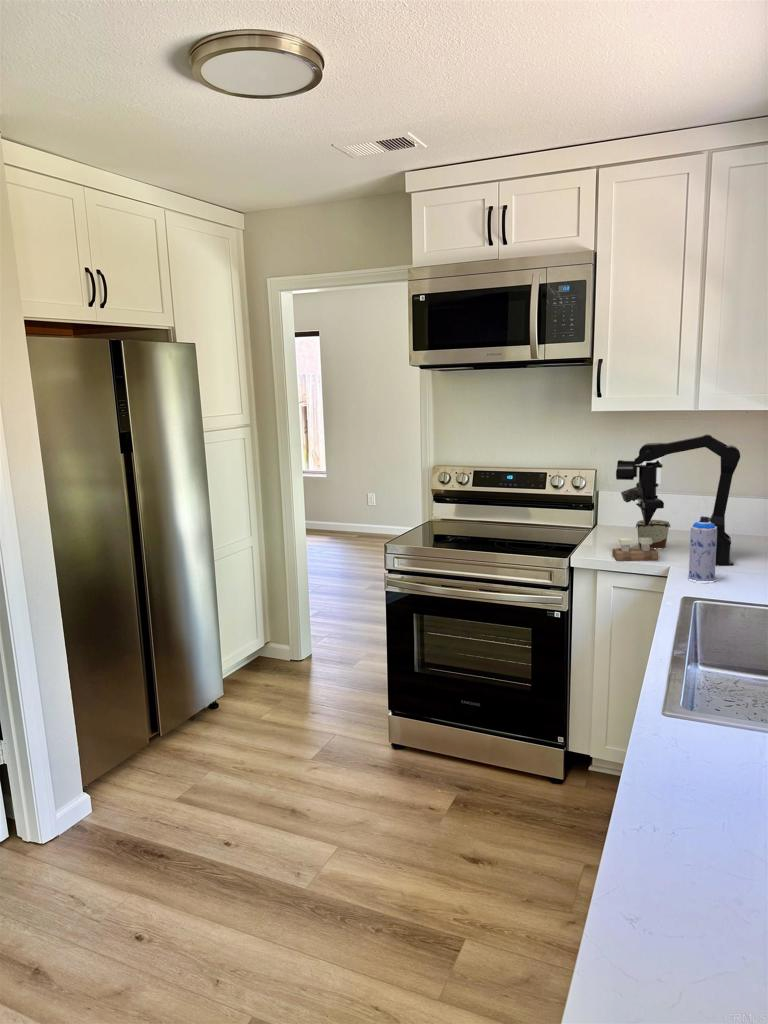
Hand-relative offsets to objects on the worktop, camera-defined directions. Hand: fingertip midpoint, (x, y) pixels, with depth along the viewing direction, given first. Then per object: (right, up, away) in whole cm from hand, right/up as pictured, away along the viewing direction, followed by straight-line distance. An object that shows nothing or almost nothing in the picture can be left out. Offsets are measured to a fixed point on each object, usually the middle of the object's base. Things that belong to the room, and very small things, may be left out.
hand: (646, 524), depth 244 cm
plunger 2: (0, -10, +2) cm, 10 cm away
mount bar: (-3, -12, +3) cm, 13 cm away
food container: (+8, -9, +18) cm, 22 cm away
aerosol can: (+7, -17, -26) cm, 32 cm away
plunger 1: (-7, -10, +2) cm, 12 cm away
